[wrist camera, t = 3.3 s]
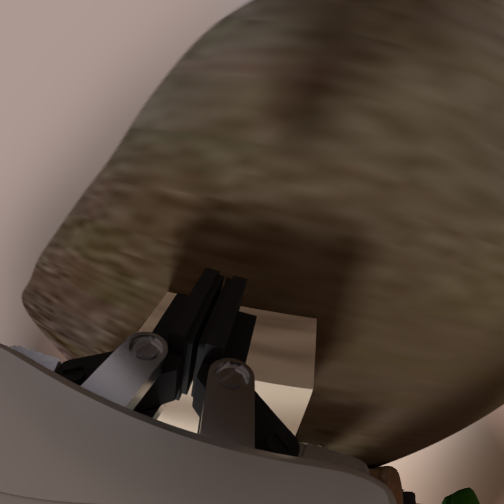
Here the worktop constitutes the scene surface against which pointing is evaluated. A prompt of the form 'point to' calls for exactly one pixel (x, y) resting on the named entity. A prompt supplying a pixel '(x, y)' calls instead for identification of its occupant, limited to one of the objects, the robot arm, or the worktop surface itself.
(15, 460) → the robot arm
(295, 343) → the beech block
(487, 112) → the worktop surface
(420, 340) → the worktop surface
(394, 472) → the brown rounded tall lump
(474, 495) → the bell pepper
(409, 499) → the mug
